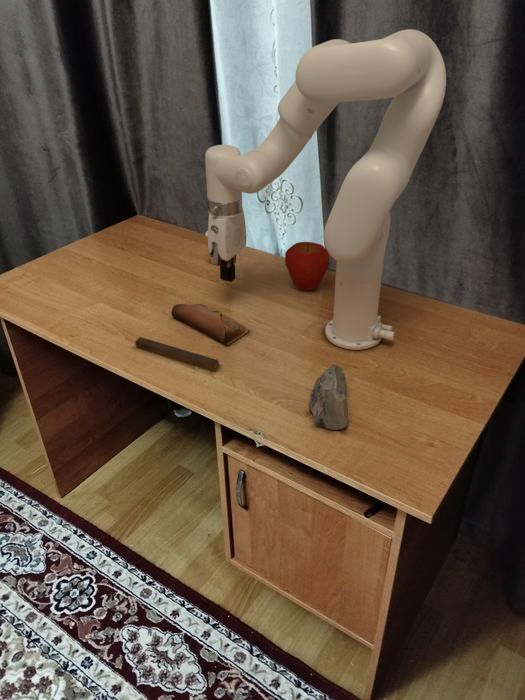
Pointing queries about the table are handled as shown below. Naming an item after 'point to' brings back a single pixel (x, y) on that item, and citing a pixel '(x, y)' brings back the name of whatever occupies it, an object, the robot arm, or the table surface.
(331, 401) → the mineral rock
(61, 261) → the table surface
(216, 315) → the sunglasses case
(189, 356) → the rail
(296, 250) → the apple
